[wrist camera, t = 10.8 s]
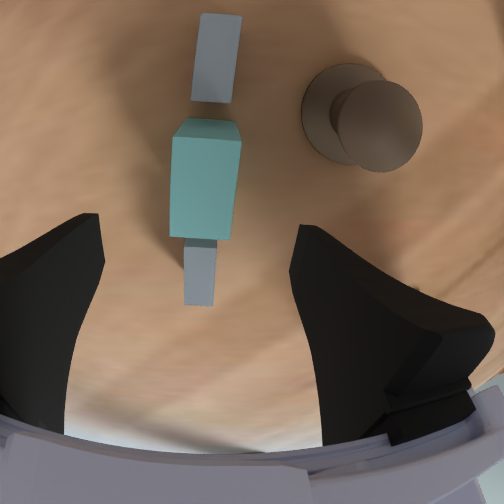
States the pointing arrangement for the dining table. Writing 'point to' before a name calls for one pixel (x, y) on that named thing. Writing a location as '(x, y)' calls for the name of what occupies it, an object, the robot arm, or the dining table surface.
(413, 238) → the dining table surface
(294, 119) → the dining table surface
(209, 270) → the grey bricks
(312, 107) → the bobbin
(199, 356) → the dining table surface
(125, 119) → the dining table surface
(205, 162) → the block
